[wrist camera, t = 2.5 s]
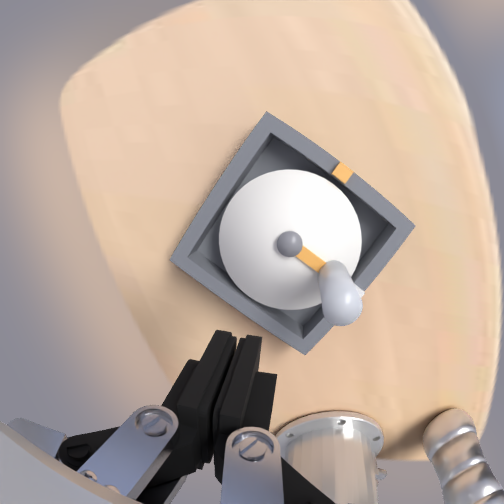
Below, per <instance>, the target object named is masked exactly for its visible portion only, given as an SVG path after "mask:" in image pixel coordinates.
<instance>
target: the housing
mask: <svg viewBox="0 0 504 504" xmlns="http://www.w3.org/2000/svg"><path fill="white" fill-rule="evenodd" d="M287 169H288V170H301V171H307V172H310V173H313V174H316V175H318V176H320V177H323V178H325V179H326V180H328V181H329V182H331V183H332V184H334V185H335V186H336V187H337V188H338V189H340V190H341V191H342V192H343V194H344V195H345V196H346V197H347V198H348V200H349V201H350V203H351V204H352V206H353V208H354V210H355V212H356V214H357V217H358V220H359V223H360V229H361V238H362V244H361V253H360V257H359V261H358V264H357V266H356V269H355V271H354V273H353V275H352V276H351V278H352V281H353V283H354V285H355V287H356V289H357V291H358V293H359V295H360V298H361V297H362V296H363V295H364V294H365V292H364V291H365V290H366V289H367V288H368V286H369V285H370V284H371V283H372V282H373V280H374V279H375V278H376V277H377V275H378V274H379V273H380V272H381V271H382V269H383V268H384V267H385V266H386V264H387V263H388V262H389V260H390V259H391V258H392V257H393V255H394V254H395V253H396V251H397V250H398V249H399V248H400V246H401V245H402V244H403V242H404V241H405V240H406V238H407V237H408V235H409V234H410V233H411V231H412V230H413V229H414V227H415V225H414V224H413V223H412V222H411V221H410V220H409V219H408V218H407V217H406V216H405V215H404V214H402V213H401V212H400V211H399V210H398V209H397V208H396V207H395V206H393V205H392V204H391V203H390V202H389V201H388V200H387V199H385V198H384V197H383V196H382V195H381V194H380V193H378V192H377V191H376V190H375V189H374V188H373V187H371V186H370V185H369V184H368V183H366V182H365V181H364V180H363V179H362V178H360V177H359V176H358V175H357V174H355V173H354V172H353V171H352V170H351V169H349V168H348V167H347V166H346V165H344V164H343V163H342V162H340V161H338V160H337V159H336V158H334V157H333V156H332V155H330V154H329V153H328V152H326V151H325V150H324V149H322V148H321V147H319V146H318V145H317V144H315V143H314V142H312V141H311V140H309V139H308V138H307V137H305V136H304V135H302V134H301V133H299V132H298V131H296V130H295V129H293V128H292V127H290V126H289V125H287V124H286V123H284V122H283V121H281V120H279V119H278V118H276V117H275V116H273V115H271V114H270V113H268V112H267V111H266V113H265V114H264V115H263V117H262V118H261V120H260V121H259V122H258V124H257V125H256V126H255V128H254V129H253V131H252V132H251V133H250V135H249V136H248V138H247V139H246V141H245V142H244V143H243V145H242V146H241V148H240V149H239V151H238V152H237V154H236V155H235V157H234V158H233V159H232V161H231V162H230V164H229V165H228V167H227V168H226V170H225V171H224V173H223V174H222V176H221V177H220V179H219V180H218V182H217V183H216V185H215V187H214V188H213V190H212V191H211V193H210V194H209V196H208V197H207V199H206V201H205V202H204V204H203V205H202V207H201V208H200V210H199V212H198V213H197V215H196V216H195V218H194V220H193V221H192V223H191V225H190V226H189V228H188V229H187V231H186V233H185V234H184V236H183V238H182V239H181V241H180V243H179V244H178V246H177V248H176V250H175V251H174V253H173V255H172V256H171V258H170V261H171V262H173V263H174V264H175V265H177V266H178V267H179V268H181V269H182V270H183V271H185V272H186V273H187V274H189V275H190V276H191V277H193V278H194V279H195V280H197V281H198V282H199V283H201V284H202V285H203V286H205V287H206V288H208V289H209V290H210V291H212V292H213V293H214V294H216V295H217V296H219V297H220V298H221V299H223V300H224V301H226V302H227V303H228V304H230V305H231V306H233V307H234V308H236V309H237V310H238V311H240V312H241V313H243V314H244V315H246V316H247V317H248V318H250V319H251V320H253V321H254V322H256V323H257V324H259V325H260V326H262V327H263V328H264V329H266V330H267V331H269V332H270V333H272V334H273V335H275V336H276V337H278V338H279V339H281V340H282V341H284V342H285V343H287V344H288V345H290V346H291V347H293V348H295V349H296V350H298V351H299V352H301V353H302V354H304V355H306V354H307V353H308V352H309V351H310V350H311V349H312V348H313V347H314V346H315V345H316V344H317V343H318V342H319V341H320V340H321V339H322V338H323V337H324V335H325V334H326V333H327V332H328V331H329V330H330V329H331V328H332V327H333V326H334V325H333V324H331V323H330V322H328V321H327V320H326V318H325V317H324V314H323V309H322V303H321V304H318V305H316V306H313V307H309V308H305V309H299V310H284V309H277V308H272V307H269V306H266V305H264V304H261V303H259V302H257V301H255V300H254V299H252V298H250V297H249V296H248V295H246V294H245V293H244V292H243V291H242V290H241V289H240V288H239V287H238V286H237V285H236V284H235V283H234V281H233V280H232V279H231V277H230V276H229V274H228V272H227V271H226V268H225V266H224V264H223V261H222V257H221V254H220V247H219V231H220V224H221V221H222V217H223V214H224V212H225V210H226V208H227V206H228V204H229V202H230V201H231V199H232V198H233V197H234V195H235V194H236V193H237V192H238V191H239V190H240V189H241V188H242V187H243V186H244V185H246V184H247V183H248V182H250V181H251V180H253V179H255V178H257V177H259V176H261V175H263V174H266V173H269V172H273V171H277V170H287Z"/></svg>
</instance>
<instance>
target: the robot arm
mask: <svg viewBox="0 0 504 504" xmlns="http://www.w3.org/2000/svg"><path fill="white" fill-rule="evenodd" d="M236 342H237V338H236V337H233V336H232V333H231V332H227V331H221V330H216V331H215V333H214V335H213V337H212V339H211V341H210V342H209V344H208V346H207V348H206V350H205V352H204V354H203V356H202V358H201V359H200V361H196V360H192V359H190V360H188V361H187V363H186V365H185V366H184V368H183V370H182V371H181V373H180V375H179V376H178V378H177V380H176V382H175V383H174V385H173V387H172V389H171V390H170V392H169V394H168V395H167V397H166V399H165V401H164V402H163V404H162V405H161V406H159V405H149V406H144V407H142V408H139V409H137V410H136V411H135V412H134V413H133V414H132V415H131V416H130V417H129V418H128V419H127V420H126V421H125V422H124V423H123V424H122V425H121V426H120V427H115V428H111V429H106V430H102V431H97V432H92V433H87V434H81V435H76V436H72V437H67V436H66V434H65V433H61V432H59V431H56V430H53V429H50V428H47V427H44V426H42V425H39V424H36V423H34V422H31V421H29V420H26V419H23V418H17V419H14V420H12V421H10V422H9V424H8V425H6V424H4V423H2V422H1V421H0V504H170V503H171V502H172V500H173V499H174V497H175V496H176V494H177V492H178V491H179V489H180V488H181V486H182V485H183V483H184V482H185V480H186V477H187V475H188V474H191V473H194V472H196V469H201V470H202V468H203V466H204V463H210V462H211V459H212V457H213V454H214V465H215V477H216V478H217V479H218V481H219V482H220V483H221V484H222V490H221V502H220V504H379V503H378V494H377V486H378V480H377V479H380V480H382V479H384V478H385V477H386V475H387V471H386V470H383V469H380V468H377V463H376V456H377V455H378V454H379V452H380V451H381V449H382V446H383V443H384V436H383V432H382V429H381V427H380V425H379V424H378V423H377V422H376V421H375V420H374V419H372V418H370V417H368V416H366V415H363V414H359V413H354V412H347V411H331V412H322V413H317V414H312V415H308V416H305V417H302V418H299V419H297V420H295V421H293V422H291V423H289V424H288V425H286V426H285V427H283V428H282V429H281V430H280V431H279V432H278V433H277V434H276V436H274V435H273V434H272V433H271V432H269V426H270V419H271V413H272V407H273V400H274V393H275V386H276V379H277V374H271V373H264V372H258V368H259V360H260V351H261V343H262V337H259V336H252V335H247V336H246V338H240V340H239V343H238V346H237V349H236Z"/></svg>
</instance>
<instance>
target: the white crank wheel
mask: <svg viewBox="0 0 504 504" xmlns="http://www.w3.org/2000/svg"><path fill="white" fill-rule="evenodd" d="M361 244H362V238H361V229H360V223H359V220H358V217H357V214H356V212H355V210H354V208H353V206H352V204H351V203H350V201H349V200H348V198H347V197H346V196H345V195H344V194H343V192H342V191H341V190H340V189H338V188H337V187H336V186H335V185H334V184H332V183H331V182H329V181H328V180H326V179H325V178H323V177H320V176H318V175H316V174H313V173H310V172H307V171H301V170H288V169H287V170H277V171H273V172H269V173H266V174H263V175H261V176H259V177H257V178H255V179H253V180H251V181H250V182H248V183H247V184H246V185H244V186H243V187H242V188H241V189H240V190H239V191H238V192H237V193H236V194H235V195H234V197H233V198H232V199H231V201H230V202H229V204H228V206H227V208H226V210H225V212H224V214H223V217H222V221H221V224H220V231H219V247H220V254H221V257H222V261H223V264H224V266H225V268H226V271H227V272H228V274H229V276H230V277H231V279H232V280H233V281H234V283H235V284H236V285H237V286H238V287H239V288H240V289H241V290H242V291H243V292H244V293H245V294H246V295H248V296H249V297H250V298H252V299H254V300H255V301H257V302H259V303H261V304H264V305H266V306H269V307H272V308H277V309H284V310H299V309H305V308H309V307H313V306H316V305H318V304H321V303H322V309H323V314H324V317H325V318H326V320H327V321H328V322H330V323H331V324H333V325H336V326H345V325H349V324H351V323H353V322H354V321H355V320H357V318H358V317H359V316H360V314H361V312H362V307H363V304H362V300H361V298H360V295H359V293H358V291H357V289H356V287H355V285H354V283H353V281H352V278H351V276H352V275H353V273H354V271H355V269H356V266H357V264H358V261H359V257H360V253H361Z"/></svg>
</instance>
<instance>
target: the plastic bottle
mask: <svg viewBox="0 0 504 504" xmlns="http://www.w3.org/2000/svg"><path fill="white" fill-rule="evenodd" d="M423 448H424V451H425V453H426V455H427V457H428V458H429V460H430V461H431V462H432V464H433V466H434V469H435V471H436V473H437V476H438V478H439V480H440V484H441V488H442V494H443V499H444V504H504V490H503V488H502V486H501V485H500V483H499V482H498V480H497V479H496V477H495V476H494V474H493V473H492V470H491V468H490V467H489V465H488V464H487V461H486V459H485V457H484V455H483V452H482V449H481V446H480V443H479V440H478V437H477V433H476V428H475V425H474V422H473V419H472V417H471V416H470V415H469V414H468V413H467V412H466V411H465V410H462V409H457V408H455V409H450V410H447V411H445V412H443V413H441V414H440V415H438V416H437V417H435V418H434V419H433V420H432V421H431V422H430V423H429V424H428V426H427V427H426V429H425V432H424V434H423Z"/></svg>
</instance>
